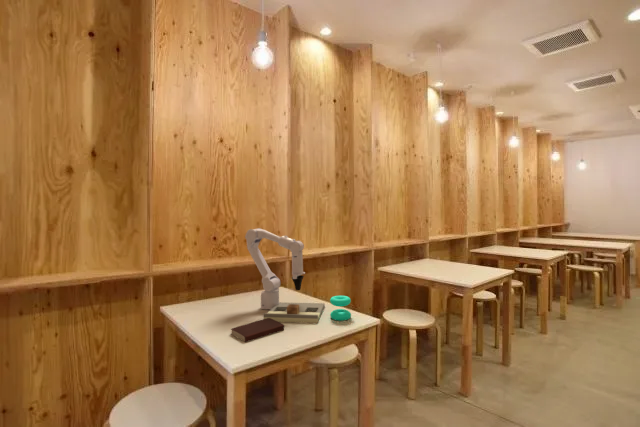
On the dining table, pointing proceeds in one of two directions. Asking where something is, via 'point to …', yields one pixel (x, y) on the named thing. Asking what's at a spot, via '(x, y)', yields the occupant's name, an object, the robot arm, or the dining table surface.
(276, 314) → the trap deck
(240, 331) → the book
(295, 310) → the block
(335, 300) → the donuts
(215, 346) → the dining table surface
